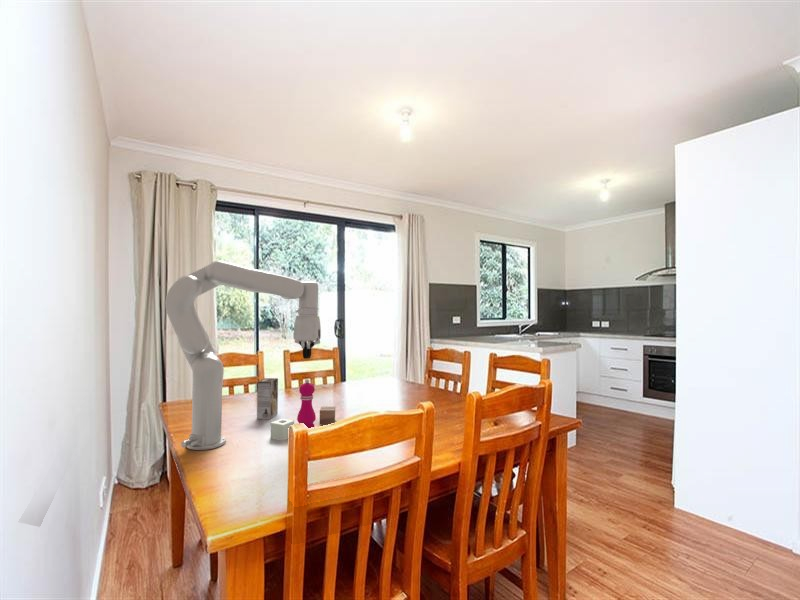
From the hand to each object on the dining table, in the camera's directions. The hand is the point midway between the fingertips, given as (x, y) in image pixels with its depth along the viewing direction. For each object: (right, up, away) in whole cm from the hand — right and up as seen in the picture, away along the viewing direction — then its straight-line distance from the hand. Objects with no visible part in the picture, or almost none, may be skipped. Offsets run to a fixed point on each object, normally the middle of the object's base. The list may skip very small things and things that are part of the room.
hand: (306, 358), depth 160 cm
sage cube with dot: (-7, -28, -10) cm, 31 cm away
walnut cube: (+6, -29, +9) cm, 31 cm away
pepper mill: (0, -29, 0) cm, 29 cm away
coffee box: (-22, -28, +17) cm, 39 cm away
